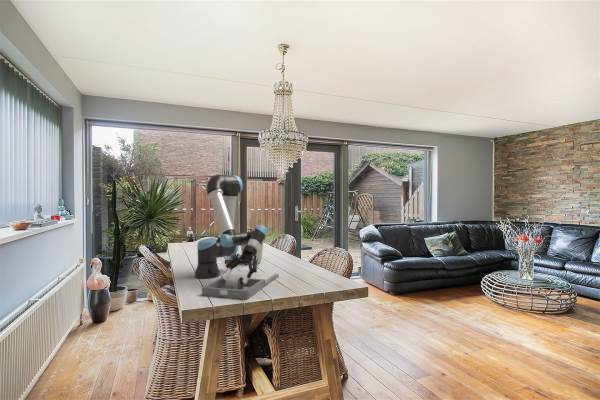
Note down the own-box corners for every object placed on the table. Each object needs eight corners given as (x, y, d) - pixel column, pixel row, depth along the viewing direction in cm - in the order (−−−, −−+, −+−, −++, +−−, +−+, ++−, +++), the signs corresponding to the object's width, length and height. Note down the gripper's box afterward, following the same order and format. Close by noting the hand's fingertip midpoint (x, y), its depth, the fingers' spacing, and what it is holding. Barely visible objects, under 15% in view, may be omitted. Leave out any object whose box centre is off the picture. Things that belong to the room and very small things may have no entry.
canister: (239, 261, 250) (238, 234, 250) (262, 260, 255) (262, 233, 254) (240, 266, 233) (240, 237, 232) (265, 265, 237) (265, 236, 237)
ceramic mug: (231, 288, 179) (231, 274, 179) (244, 289, 176) (244, 275, 176) (220, 293, 169) (220, 279, 169) (234, 295, 166) (234, 280, 166)
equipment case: (201, 295, 165) (201, 287, 165) (242, 274, 211) (242, 267, 211) (246, 299, 159) (246, 291, 159) (278, 276, 204) (278, 270, 204)
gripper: (272, 254, 181) (255, 288, 168) (238, 251, 194) (220, 282, 181) (266, 246, 176) (249, 280, 164) (231, 243, 189) (213, 274, 176)
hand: (234, 281), depth 172 cm, fingers open, 13 cm apart
